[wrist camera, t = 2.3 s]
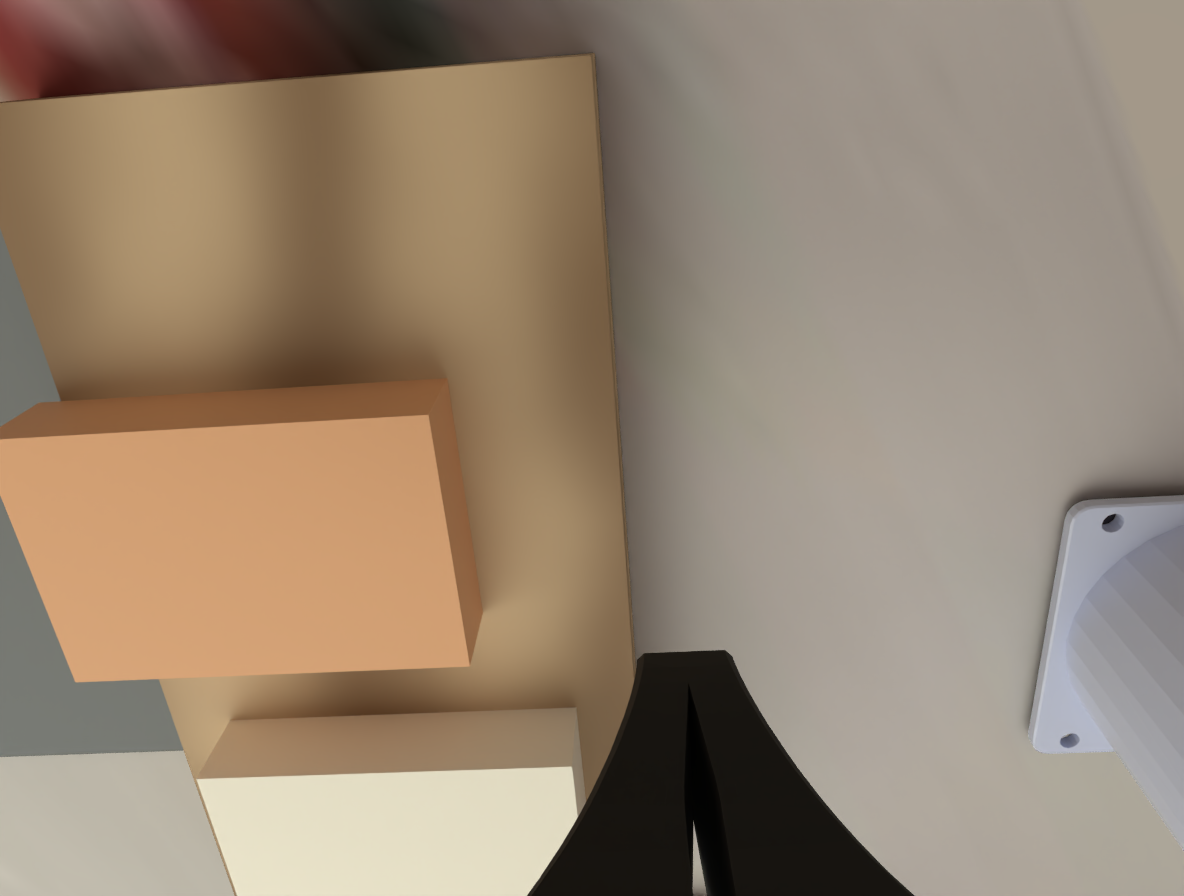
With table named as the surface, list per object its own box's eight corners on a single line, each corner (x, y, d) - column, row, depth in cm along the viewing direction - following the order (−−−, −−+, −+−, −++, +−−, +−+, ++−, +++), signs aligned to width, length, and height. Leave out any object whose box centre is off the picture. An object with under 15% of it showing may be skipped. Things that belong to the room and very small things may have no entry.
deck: (594, 52, 18) (590, 55, 16) (646, 826, 27) (648, 897, 25) (37, 98, 19) (-43, 107, 17) (269, 837, 28) (239, 907, 26)
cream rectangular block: (576, 707, 22) (572, 766, 21) (593, 874, 25) (591, 940, 23) (230, 720, 23) (195, 779, 21) (281, 882, 25) (255, 947, 24)
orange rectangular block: (447, 378, 19) (428, 415, 17) (483, 612, 21) (469, 666, 19) (38, 402, 19) (-22, 440, 17) (120, 628, 22) (75, 682, 20)
